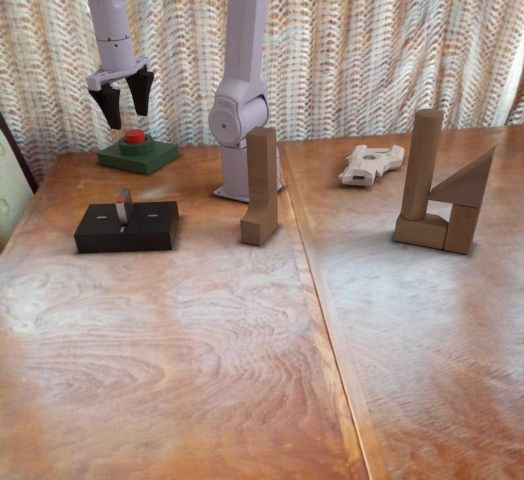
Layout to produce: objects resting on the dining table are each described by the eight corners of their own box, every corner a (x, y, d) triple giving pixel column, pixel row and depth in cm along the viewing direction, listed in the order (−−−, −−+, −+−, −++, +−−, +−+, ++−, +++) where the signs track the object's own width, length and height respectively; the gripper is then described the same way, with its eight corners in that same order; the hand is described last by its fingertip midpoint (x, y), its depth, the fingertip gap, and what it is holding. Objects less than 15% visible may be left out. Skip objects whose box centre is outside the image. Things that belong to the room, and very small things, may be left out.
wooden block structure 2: (468, 255, 76) (501, 124, 64) (392, 241, 79) (410, 115, 68) (472, 243, 78) (504, 114, 66) (398, 230, 82) (417, 106, 70)
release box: (179, 155, 107) (176, 135, 104) (147, 175, 101) (143, 153, 98) (132, 146, 112) (128, 126, 109) (99, 164, 105) (94, 143, 103)
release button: (149, 140, 104) (147, 130, 103) (137, 146, 102) (135, 137, 101) (134, 137, 106) (133, 128, 104) (122, 143, 103) (120, 134, 102)
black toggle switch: (179, 217, 87) (176, 199, 85) (172, 250, 80) (169, 231, 78) (93, 221, 88) (89, 203, 85) (78, 253, 80) (72, 234, 78)
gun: (396, 173, 88) (336, 169, 91) (394, 193, 90) (335, 189, 93) (406, 139, 102) (353, 136, 104) (404, 158, 104) (352, 154, 106)
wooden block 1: (259, 222, 85) (255, 125, 75) (278, 226, 84) (276, 128, 74) (241, 242, 81) (234, 142, 71) (260, 246, 80) (256, 145, 70)
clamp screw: (126, 209, 84) (121, 186, 81) (134, 209, 84) (129, 186, 81) (120, 225, 80) (114, 201, 77) (128, 224, 80) (123, 201, 77)
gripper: (122, 26, 95) (137, 107, 104) (64, 45, 86) (85, 131, 95) (154, 29, 92) (166, 111, 102) (98, 49, 83) (116, 137, 92)
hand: (129, 121), depth 98 cm, fingers open, 7 cm apart
